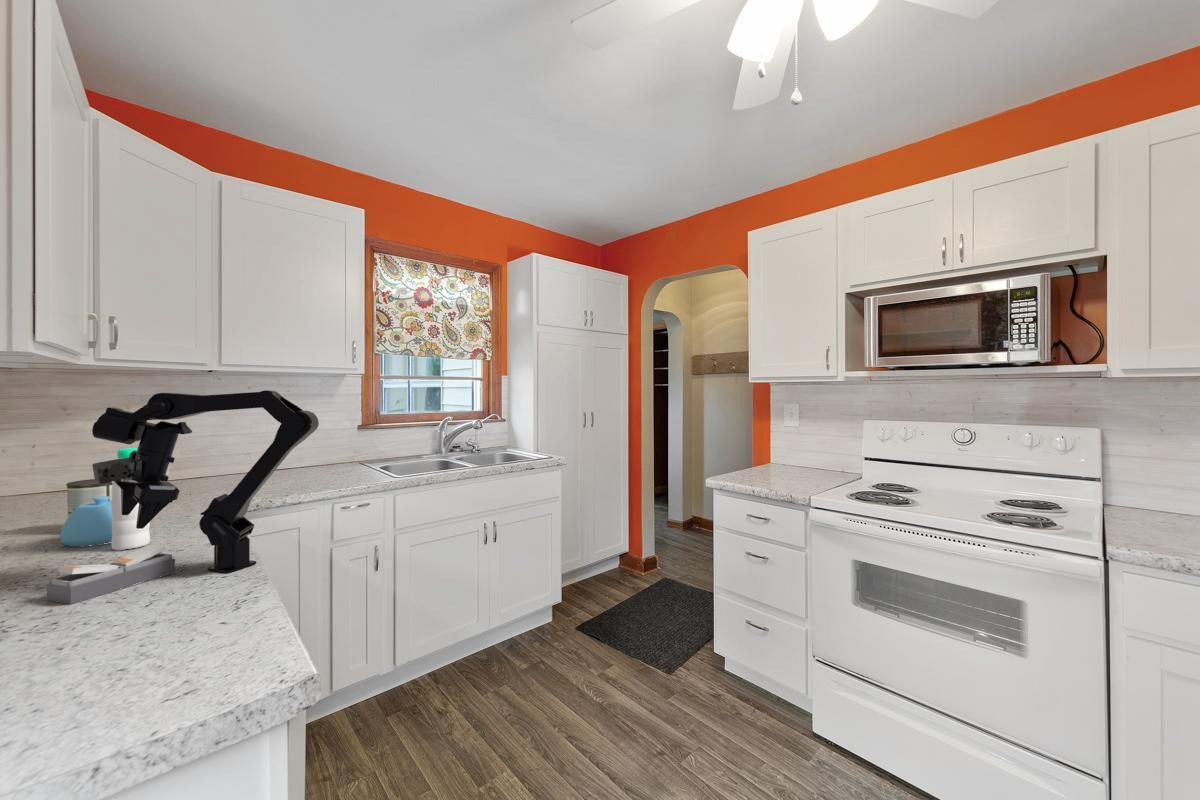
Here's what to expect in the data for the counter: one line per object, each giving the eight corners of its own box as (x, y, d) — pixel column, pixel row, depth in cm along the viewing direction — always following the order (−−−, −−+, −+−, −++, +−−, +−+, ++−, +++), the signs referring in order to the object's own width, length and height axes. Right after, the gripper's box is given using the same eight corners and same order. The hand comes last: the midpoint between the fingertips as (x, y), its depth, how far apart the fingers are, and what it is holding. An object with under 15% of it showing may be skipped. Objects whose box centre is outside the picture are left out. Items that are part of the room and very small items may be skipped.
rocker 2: (165, 549, 105) (163, 545, 105) (127, 568, 99) (125, 563, 99) (152, 548, 107) (151, 543, 106) (113, 566, 100) (112, 561, 100)
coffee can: (65, 530, 140) (65, 481, 140) (115, 523, 148) (115, 476, 148) (68, 537, 133) (68, 485, 133) (121, 529, 141) (120, 480, 141)
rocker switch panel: (175, 572, 106) (175, 554, 106) (70, 604, 90) (70, 583, 90) (152, 569, 108) (152, 551, 108) (46, 600, 92) (46, 579, 92)
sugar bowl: (154, 534, 136) (154, 493, 136) (84, 551, 121) (84, 504, 121) (116, 531, 140) (116, 490, 140) (44, 546, 125) (44, 501, 125)
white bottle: (126, 552, 120) (125, 450, 120) (103, 550, 122) (103, 449, 122) (157, 543, 127) (156, 447, 127) (135, 542, 129) (135, 446, 129)
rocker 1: (117, 571, 97) (118, 565, 98) (71, 574, 91) (73, 567, 91) (103, 569, 98) (105, 563, 99) (58, 572, 92) (60, 565, 92)
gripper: (91, 435, 103) (66, 508, 102) (120, 456, 93) (93, 537, 92) (157, 441, 112) (135, 508, 111) (190, 461, 103) (166, 535, 102)
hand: (132, 521), depth 104 cm, fingers open, 9 cm apart
